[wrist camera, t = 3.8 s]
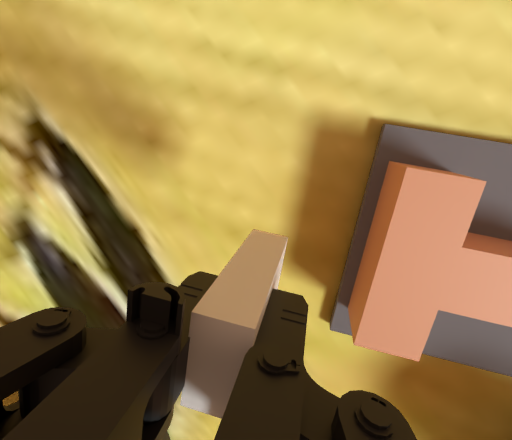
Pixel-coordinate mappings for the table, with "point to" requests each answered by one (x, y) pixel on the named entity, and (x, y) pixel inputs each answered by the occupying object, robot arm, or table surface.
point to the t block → (426, 262)
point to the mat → (484, 223)
